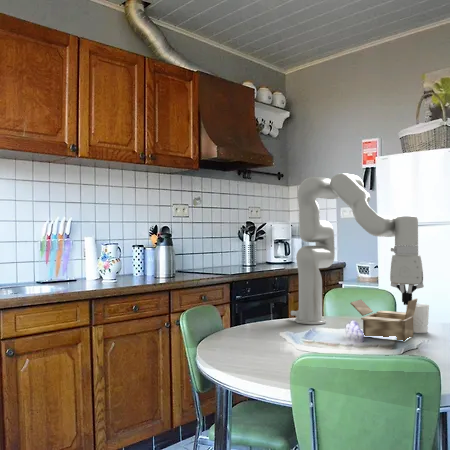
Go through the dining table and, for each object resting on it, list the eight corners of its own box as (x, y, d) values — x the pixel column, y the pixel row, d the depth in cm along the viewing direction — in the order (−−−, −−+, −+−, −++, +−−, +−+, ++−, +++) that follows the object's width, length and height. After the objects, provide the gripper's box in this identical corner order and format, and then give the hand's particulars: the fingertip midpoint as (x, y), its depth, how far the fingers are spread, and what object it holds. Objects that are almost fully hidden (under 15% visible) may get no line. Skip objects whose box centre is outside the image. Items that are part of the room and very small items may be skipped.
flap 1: (362, 315, 166) (350, 303, 169) (372, 312, 175) (360, 300, 178) (363, 314, 166) (351, 302, 169) (373, 311, 175) (361, 299, 178)
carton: (358, 339, 161) (358, 317, 161) (377, 330, 179) (377, 310, 180) (400, 344, 153) (400, 321, 154) (416, 334, 171) (416, 313, 172)
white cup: (431, 334, 172) (431, 306, 173) (408, 333, 174) (408, 305, 174) (426, 330, 180) (426, 303, 180) (404, 329, 182) (404, 303, 182)
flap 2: (404, 318, 158) (408, 301, 158) (412, 314, 167) (416, 298, 167) (406, 319, 158) (409, 301, 157) (413, 315, 167) (417, 298, 166)
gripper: (381, 251, 165) (381, 304, 164) (427, 251, 156) (427, 307, 156) (387, 250, 171) (388, 301, 170) (431, 251, 163) (432, 305, 162)
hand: (407, 304), depth 163 cm, fingers closed
